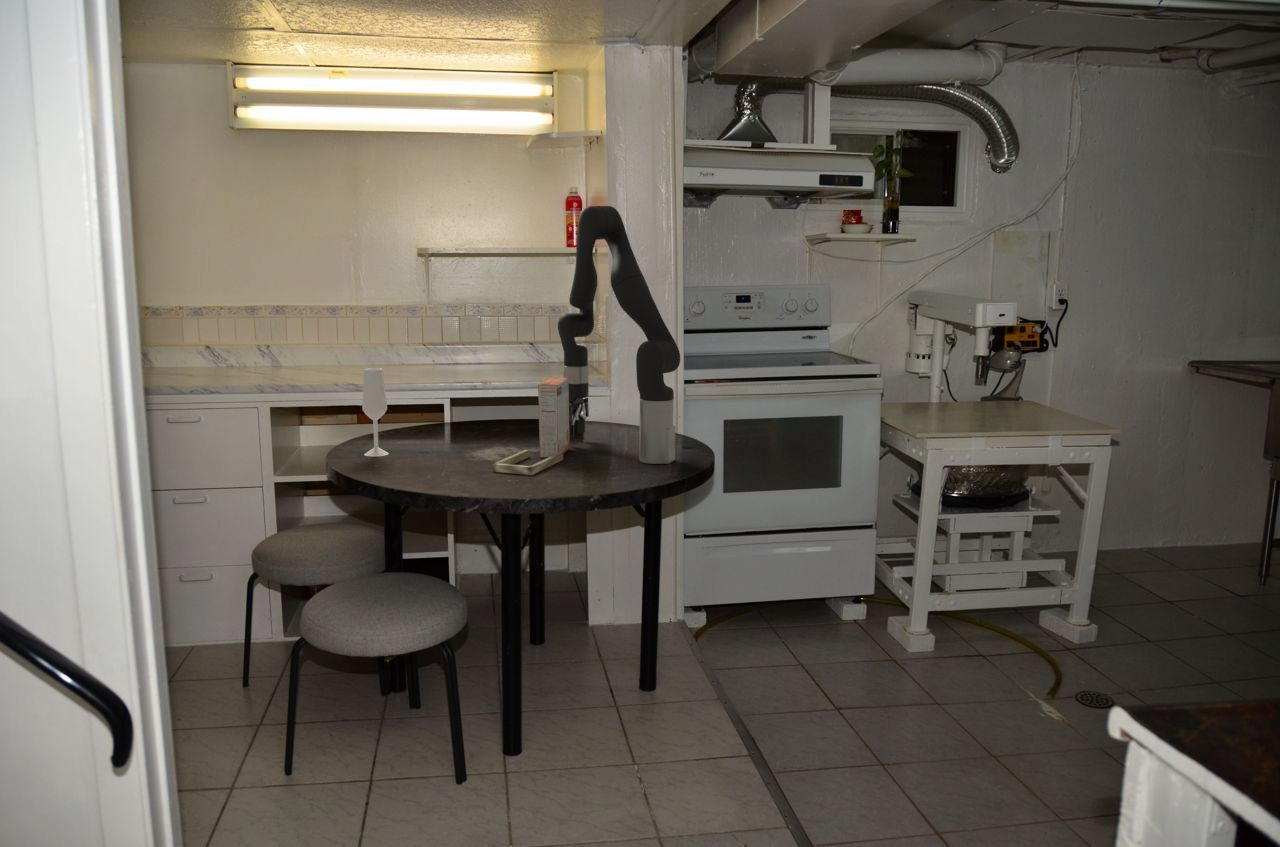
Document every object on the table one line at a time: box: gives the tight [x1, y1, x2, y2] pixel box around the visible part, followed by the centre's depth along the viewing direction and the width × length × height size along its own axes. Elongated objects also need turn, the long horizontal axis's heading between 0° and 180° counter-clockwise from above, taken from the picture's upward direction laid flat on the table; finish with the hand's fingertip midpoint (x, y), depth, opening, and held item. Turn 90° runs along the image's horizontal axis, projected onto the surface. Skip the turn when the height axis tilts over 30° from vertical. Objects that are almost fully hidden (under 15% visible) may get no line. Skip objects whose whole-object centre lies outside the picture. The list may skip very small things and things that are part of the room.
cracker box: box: [537, 377, 570, 459], centre depth 277 cm, size 14×6×21 cm, turn 171°
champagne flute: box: [361, 367, 389, 457], centre depth 274 cm, size 7×7×24 cm
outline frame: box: [491, 449, 564, 476], centre depth 263 cm, size 11×20×2 cm, turn 161°
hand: (575, 434), depth 293 cm, fingers open, 8 cm apart
